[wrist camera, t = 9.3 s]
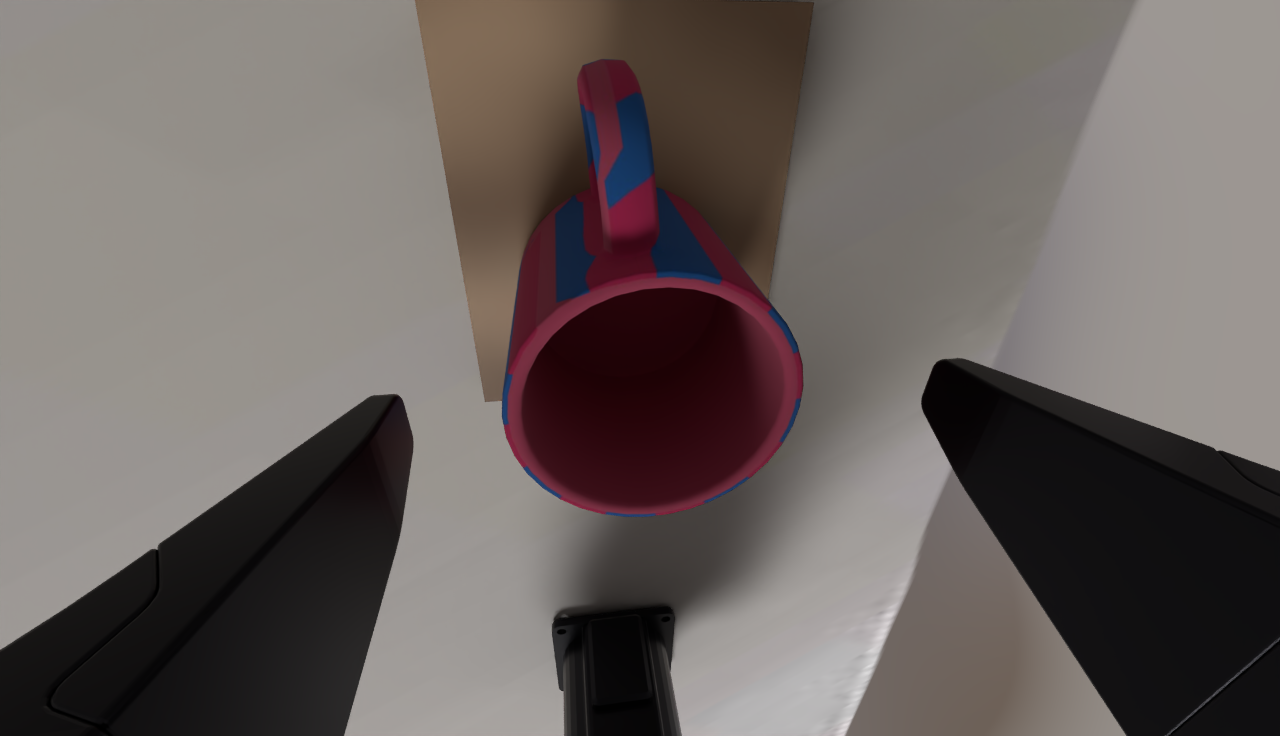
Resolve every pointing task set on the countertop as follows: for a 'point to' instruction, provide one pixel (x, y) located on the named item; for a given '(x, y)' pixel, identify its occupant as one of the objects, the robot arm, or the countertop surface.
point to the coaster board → (554, 135)
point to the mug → (640, 336)
